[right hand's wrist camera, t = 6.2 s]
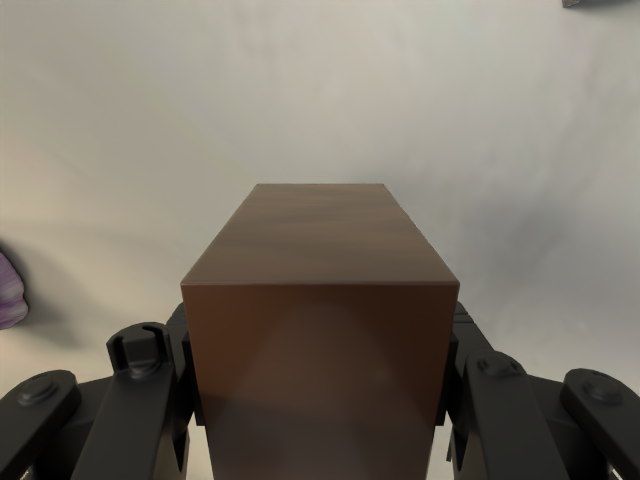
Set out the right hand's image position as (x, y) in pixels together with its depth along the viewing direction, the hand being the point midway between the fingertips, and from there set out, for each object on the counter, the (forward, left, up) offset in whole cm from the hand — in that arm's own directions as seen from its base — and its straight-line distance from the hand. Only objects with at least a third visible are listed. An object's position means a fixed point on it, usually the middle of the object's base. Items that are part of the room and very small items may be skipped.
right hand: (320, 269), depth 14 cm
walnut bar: (0, -10, 0) cm, 10 cm away
